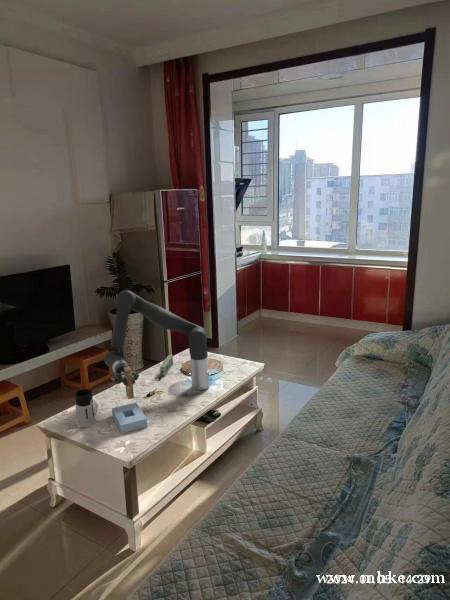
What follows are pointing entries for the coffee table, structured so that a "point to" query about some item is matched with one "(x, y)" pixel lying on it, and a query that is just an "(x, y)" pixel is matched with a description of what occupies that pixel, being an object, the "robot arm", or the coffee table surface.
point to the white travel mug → (85, 408)
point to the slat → (129, 382)
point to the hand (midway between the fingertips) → (130, 383)
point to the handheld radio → (166, 366)
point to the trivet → (211, 365)
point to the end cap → (129, 417)
